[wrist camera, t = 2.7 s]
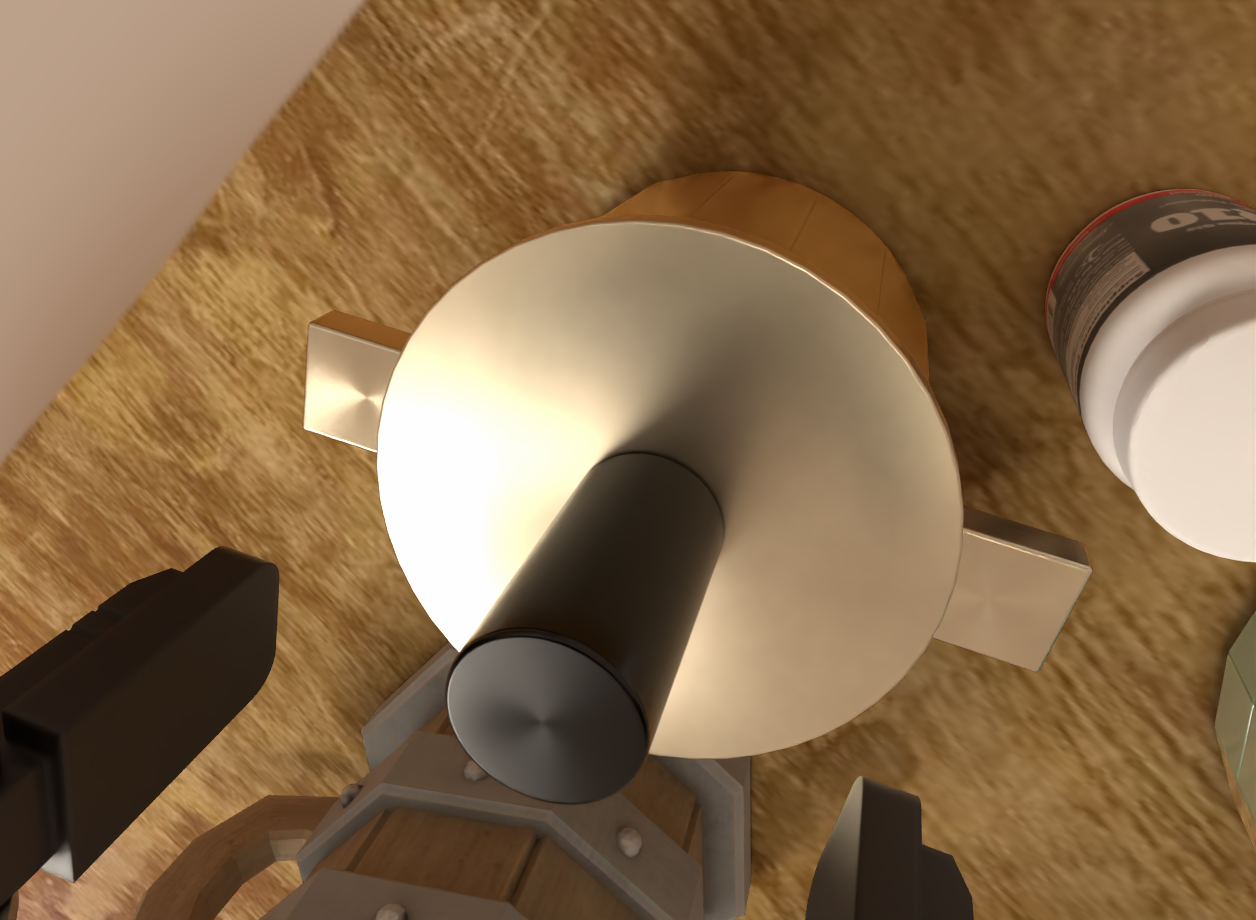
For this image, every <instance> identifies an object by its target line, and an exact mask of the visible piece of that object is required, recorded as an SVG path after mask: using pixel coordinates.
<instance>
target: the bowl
mask: <svg viewBox="0 0 1256 920" xmlns="http://www.w3.org/2000/svg"><path fill="white" fill-rule="evenodd" d="M1215 733H1216V736H1217V740H1218V744H1219V748H1220V752H1221V756H1222V759H1223V763H1224V767H1225V771H1226V775H1227V779H1228V782H1229V786H1230V790H1231V794H1232V796H1233V799H1234V801H1235V804H1236V806H1237V809H1238V811H1239V814H1240V816H1241V819H1242V821H1243V823H1244V826H1245V828H1246V831H1247V833H1248V836H1249V838H1250V841H1251V843H1252V846H1253V848H1254V850H1255V853H1256V610H1255V612H1254V613H1253V615H1252V616H1251V618H1250V619H1249V621H1248V623H1247V624H1246V626H1245V627H1244V629H1243V630H1242V632H1241V633H1240V635H1239V636H1238V638H1237V639H1236V641H1235V643H1234V644H1233V646H1232V647H1231V649H1230V650H1229V654H1228V656H1227V662H1226V667H1225V672H1224V678H1223V683H1222V688H1221V694H1220V699H1219V704H1218V710H1217V715H1216V720H1215Z"/></svg>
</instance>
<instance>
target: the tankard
mask: <svg viewBox="0 0 1256 920" xmlns="http://www.w3.org/2000/svg"><path fill="white" fill-rule="evenodd" d="M458 653H459V652H458V651H457V650H456V649H455V648H454V647H453V646H452V644H451V643H450V642H448V643H447V644H446V645H445V646H443V647H442V648H441V649H440V650H439V651H438V652H437V653H436V654H435V655H434V656H433V657H432V658H430V659H429V660H428V661H427V662H426V663H425V664H424V665H423V666H422V667H421V668H420V669H419V670H418V671H416V672H415V673H414V674H413V675H412V676H411V677H410V678H409V679H408V680H407V681H406V682H405V683H403V684H402V685H401V686H400V687H399V688H398V689H397V690H396V691H395V692H394V693H393V694H392V695H391V696H389V697H388V698H387V699H386V700H385V701H384V702H383V703H382V704H381V705H380V706H379V707H378V709H377V710H376V711H375V712H374V714H373V715H372V716H371V718H370V719H369V720H368V722H367V723H366V724H365V725H364V727H363V728H362V729H361V733H362V737H363V742H364V746H365V751H366V756H367V760H368V765H369V770H370V772H369V773H368V774H367V775H366V776H365V777H364V778H362V779H361V780H360V781H359V782H358V783H357V784H350V785H348V786H347V787H346V788H344V789H343V791H342V793H341V796H340V798H339V797H316V796H274V795H268V796H266V797H264V798H263V799H261V800H259V801H258V802H256V803H254V804H253V805H251V806H249V807H248V808H246V809H244V810H243V811H241V812H239V813H238V814H236V815H234V816H233V817H231V818H229V819H228V820H226V821H224V822H223V823H221V824H219V825H217V826H216V827H214V828H212V829H211V830H209V831H207V832H206V833H204V834H202V835H201V836H199V837H197V838H196V839H194V840H193V841H192V842H191V843H190V844H189V846H188V847H187V848H186V849H185V850H184V851H183V852H182V853H181V854H180V855H179V856H178V858H177V859H176V860H175V861H174V862H173V863H172V864H171V865H170V866H169V867H168V868H167V869H166V871H165V872H164V873H163V874H162V875H161V876H160V877H159V878H158V879H157V880H156V881H155V883H154V884H153V885H152V886H151V887H150V888H149V889H148V890H147V891H146V892H145V893H144V895H143V897H142V899H141V901H140V903H139V906H138V908H137V910H136V912H135V914H134V917H133V919H132V920H214V918H215V917H216V916H217V914H218V913H219V912H220V911H221V910H222V908H223V907H224V906H225V905H226V904H227V902H228V901H229V900H230V899H231V898H232V896H233V895H234V894H235V893H236V891H237V890H238V889H239V888H240V887H241V885H242V884H243V883H245V882H246V881H248V880H249V879H251V878H252V877H254V876H255V875H257V874H258V873H260V872H261V871H263V870H264V869H266V868H267V867H268V866H270V865H271V864H273V863H274V862H276V861H289V860H297V862H298V866H299V870H300V874H301V877H302V881H303V884H302V885H301V886H299V887H298V888H297V889H296V890H294V891H293V892H292V893H291V894H290V895H288V896H287V897H286V898H285V899H283V900H282V901H281V902H280V903H279V904H277V905H276V906H275V907H274V908H272V909H271V910H270V911H269V912H268V913H266V914H265V915H264V916H263V917H261V918H260V919H259V920H735V919H737V918H739V917H741V916H743V915H744V914H745V910H746V904H747V899H748V894H749V888H750V883H751V829H750V756H746V757H738V758H729V759H683V758H673V757H663V756H655V755H650V754H648V756H647V758H646V761H645V763H644V766H643V767H642V769H641V771H640V772H639V774H638V775H637V776H636V777H635V779H634V780H633V781H632V782H631V783H630V784H628V785H627V786H626V787H625V788H623V789H622V790H621V791H620V792H618V793H616V794H614V795H613V796H611V797H609V798H606V799H603V800H601V801H597V802H593V803H589V804H580V805H562V804H554V803H548V802H544V801H539V800H536V799H533V798H530V797H527V796H524V795H522V794H520V793H517V792H515V791H513V790H511V789H509V788H508V787H506V786H504V785H502V784H501V783H499V782H498V781H496V780H495V779H493V778H492V777H491V776H489V775H488V774H487V773H486V772H484V771H483V770H482V769H481V768H480V767H479V766H478V765H477V764H476V763H475V762H474V761H473V760H472V759H471V758H470V757H469V755H468V754H467V753H466V752H465V751H464V749H463V748H462V746H461V745H460V743H459V742H458V740H457V738H456V736H455V734H454V732H453V730H452V728H451V725H450V723H449V720H448V716H447V712H446V707H445V685H446V679H447V675H448V671H449V669H450V667H451V664H452V662H453V661H454V659H455V658H456V656H457V655H458Z"/></svg>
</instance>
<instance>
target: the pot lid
mask: <svg viewBox="0 0 1256 920" xmlns="http://www.w3.org/2000/svg"><path fill="white" fill-rule="evenodd" d="M376 469H377V479H378V488H379V498H380V503H381V507H382V511H383V516H384V520H385V524H386V528H387V532H388V535H389V537H390V540H391V543H392V546H393V548H394V551H395V554H396V557H397V559H398V562H399V564H400V566H401V568H402V570H403V572H404V574H405V576H406V578H407V580H408V582H409V584H410V586H411V588H412V590H413V592H414V593H415V595H416V596H417V598H418V600H419V601H420V603H421V604H422V606H423V607H424V609H425V610H426V612H427V614H428V615H429V617H430V618H431V620H432V621H433V622H434V623H435V625H436V626H437V627H438V628H439V630H440V631H441V632H442V633H443V634H444V636H445V637H446V638H447V639H448V641H449V642H450V643H451V644H452V646H453V647H454V648H455V649H456V650H457V651H458V652H459V653H458V655H457V656H456V658H455V659H454V661H453V662H452V664H451V667H450V669H449V671H448V675H447V679H446V685H445V707H446V712H447V716H448V720H449V723H450V725H451V728H452V730H453V732H454V734H455V736H456V738H457V740H458V742H459V743H460V745H461V746H462V748H463V749H464V751H465V752H466V753H467V754H468V755H469V757H470V758H471V759H472V760H473V761H474V762H475V763H476V764H477V765H478V766H479V767H480V768H481V769H482V770H483V771H484V772H486V773H487V774H488V775H489V776H491V777H492V778H493V779H495V780H496V781H498V782H499V783H501V784H502V785H504V786H506V787H508V788H509V789H511V790H513V791H515V792H517V793H520V794H522V795H524V796H527V797H530V798H533V799H536V800H539V801H544V802H548V803H554V804H562V805H580V804H589V803H593V802H597V801H601V800H603V799H606V798H609V797H611V796H613V795H614V794H616V793H618V792H620V791H621V790H622V789H623V788H625V787H626V786H627V785H628V784H630V783H631V782H632V781H633V780H634V779H635V777H636V776H637V775H638V774H639V772H640V771H641V769H642V767H643V766H644V763H645V761H646V758H647V756H648V754H650V755H655V756H663V757H673V758H683V759H729V758H738V757H746V756H755V755H761V754H765V753H769V752H773V751H778V750H782V749H786V748H790V747H793V746H796V745H799V744H801V743H804V742H807V741H810V740H812V739H815V738H818V737H820V736H823V735H825V734H827V733H829V732H830V731H832V730H834V729H836V728H838V727H840V726H842V725H844V724H846V723H848V722H850V721H851V720H853V719H854V718H856V717H857V716H859V715H860V714H862V713H863V712H864V711H866V710H867V709H869V708H870V707H871V706H873V705H874V704H876V703H877V702H878V701H880V700H881V699H882V698H883V697H884V696H885V695H886V694H887V693H888V692H889V691H890V690H891V689H892V688H893V687H895V686H896V685H897V684H898V683H899V682H900V681H901V680H902V679H903V678H904V677H905V676H906V675H907V673H908V672H909V671H910V669H911V668H912V667H913V666H914V664H915V663H916V662H917V660H918V659H919V658H920V657H921V655H922V654H923V653H924V651H925V650H926V649H927V647H928V645H929V643H930V642H931V640H932V638H933V636H934V634H935V633H936V631H937V629H938V627H939V625H940V624H941V622H942V620H943V618H944V615H945V613H946V610H947V607H948V604H949V602H950V599H951V596H952V593H953V591H954V588H955V585H956V580H957V575H958V570H959V565H960V560H961V555H962V549H963V522H964V508H963V499H962V490H961V482H960V474H959V465H958V460H957V457H956V453H955V450H954V446H953V442H952V439H951V435H950V432H949V428H948V424H947V422H946V420H945V418H944V415H943V413H942V411H941V409H940V406H939V404H938V402H937V400H936V397H935V395H934V393H933V391H932V388H931V386H930V385H929V383H928V381H927V380H926V378H925V377H924V375H923V374H922V372H921V370H920V369H919V367H918V366H917V364H916V362H915V361H914V359H913V358H912V356H911V354H910V353H909V351H908V350H907V349H906V348H905V346H904V345H903V344H902V343H901V342H900V340H899V339H898V338H897V337H896V336H895V334H894V333H893V332H892V331H891V330H890V328H889V327H888V326H887V325H886V324H885V323H884V321H883V320H882V319H881V318H880V317H879V316H878V315H877V314H876V313H875V312H874V311H873V310H872V309H870V308H869V307H868V306H867V305H866V304H865V303H864V302H863V301H862V300H860V299H859V298H858V297H857V296H856V295H855V294H854V293H853V292H852V291H851V290H849V289H848V288H847V287H846V286H844V285H843V284H841V283H840V282H839V281H837V280H836V279H834V278H833V277H831V276H830V275H828V274H827V273H825V272H824V271H823V270H821V269H820V268H818V267H817V266H815V265H814V264H812V263H811V262H809V261H807V260H805V259H803V258H801V257H800V256H798V255H796V254H794V253H792V252H790V251H788V250H786V249H784V248H782V247H780V246H778V245H776V244H774V243H772V242H770V241H767V240H764V239H762V238H759V237H756V236H753V235H750V234H747V233H745V232H742V231H739V230H736V229H733V228H730V227H728V226H723V225H718V224H713V223H708V222H704V221H699V220H694V219H689V218H685V217H671V216H657V215H643V214H640V215H625V216H609V217H598V218H593V219H589V220H584V221H579V222H574V223H569V224H565V225H560V226H557V227H555V228H552V229H549V230H546V231H544V232H541V233H538V234H535V235H533V236H530V237H527V238H525V239H522V240H521V241H519V242H517V243H515V244H513V245H511V246H510V247H508V248H506V249H504V250H502V251H500V252H499V253H497V254H495V255H493V256H491V257H489V258H488V259H486V260H484V261H483V262H481V263H480V264H478V265H477V266H476V267H474V268H473V269H472V270H471V271H469V272H468V273H467V274H465V275H464V276H463V277H461V278H460V279H459V280H457V281H456V282H455V283H453V284H452V285H451V286H450V287H449V288H448V289H447V291H446V292H445V293H444V294H443V295H442V296H441V297H440V298H439V299H438V300H437V301H436V302H435V303H434V304H433V305H432V306H431V307H430V308H429V309H428V310H427V312H426V313H425V315H424V316H423V318H422V319H421V320H420V322H419V323H418V325H417V326H416V328H415V329H414V330H413V332H412V333H411V335H410V336H409V337H408V339H407V341H406V343H405V345H404V347H403V349H402V351H401V353H400V355H399V357H398V359H397V361H396V363H395V365H394V367H393V370H392V373H391V376H390V379H389V383H388V386H387V389H386V392H385V395H384V398H383V402H382V408H381V414H380V420H379V426H378V432H377V456H376Z"/></svg>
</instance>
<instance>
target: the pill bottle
mask: <svg viewBox="0 0 1256 920" xmlns="http://www.w3.org/2000/svg"><path fill="white" fill-rule="evenodd" d="M1045 315H1046V324H1047V330H1048V334H1049V337H1050V341H1051V343H1052V346H1053V348H1054V351H1055V354H1056V356H1057V359H1058V361H1059V363H1060V366H1061V368H1062V371H1063V373H1064V376H1065V378H1066V381H1067V383H1068V386H1069V388H1070V391H1071V394H1072V396H1073V399H1074V402H1075V404H1076V406H1077V409H1078V412H1079V415H1080V417H1081V420H1082V423H1083V425H1084V428H1085V430H1086V432H1087V434H1088V436H1089V438H1090V440H1091V443H1092V445H1093V446H1094V448H1095V450H1096V451H1097V453H1098V455H1099V456H1100V458H1101V459H1102V461H1103V462H1104V463H1105V465H1106V466H1107V467H1108V468H1109V469H1110V470H1111V471H1112V472H1113V473H1114V475H1115V476H1117V477H1118V478H1119V479H1120V480H1121V481H1122V482H1124V483H1125V484H1126V485H1128V486H1129V487H1130V488H1132V489H1133V490H1135V492H1136V494H1137V496H1138V497H1139V499H1140V501H1141V503H1142V504H1143V505H1144V507H1145V508H1146V509H1147V511H1148V512H1149V514H1150V515H1151V516H1152V517H1153V518H1154V519H1155V521H1156V522H1157V523H1159V524H1160V525H1161V526H1162V527H1163V528H1164V529H1165V530H1166V531H1168V532H1169V533H1170V534H1172V535H1173V536H1175V537H1176V538H1178V539H1179V540H1181V541H1183V542H1184V543H1186V544H1188V545H1190V546H1192V547H1194V548H1196V549H1198V550H1201V551H1203V552H1206V553H1209V554H1212V555H1215V556H1218V557H1223V558H1227V559H1232V560H1238V561H1246V562H1256V211H1255V210H1254V209H1252V208H1250V207H1249V206H1247V205H1245V204H1243V203H1241V202H1240V201H1237V200H1235V199H1233V198H1230V197H1227V196H1224V195H1222V194H1218V193H1214V192H1209V191H1204V190H1196V189H1171V190H1163V191H1157V192H1152V193H1148V194H1144V195H1141V196H1137V197H1135V198H1132V199H1129V200H1127V201H1124V202H1122V203H1120V204H1118V205H1116V206H1114V207H1113V208H1111V209H1109V210H1108V211H1106V212H1104V213H1103V214H1101V215H1100V216H1098V217H1097V218H1096V219H1095V220H1093V221H1092V222H1091V223H1090V224H1089V225H1088V226H1087V227H1085V228H1084V229H1083V230H1082V231H1081V232H1080V233H1079V234H1078V235H1077V236H1076V237H1075V239H1074V240H1073V241H1072V242H1071V243H1070V244H1069V246H1068V247H1067V248H1066V250H1065V251H1064V253H1063V254H1062V256H1061V257H1060V259H1059V261H1058V262H1057V264H1056V266H1055V269H1054V271H1053V273H1052V276H1051V278H1050V281H1049V285H1048V289H1047V295H1046V304H1045Z"/></svg>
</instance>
